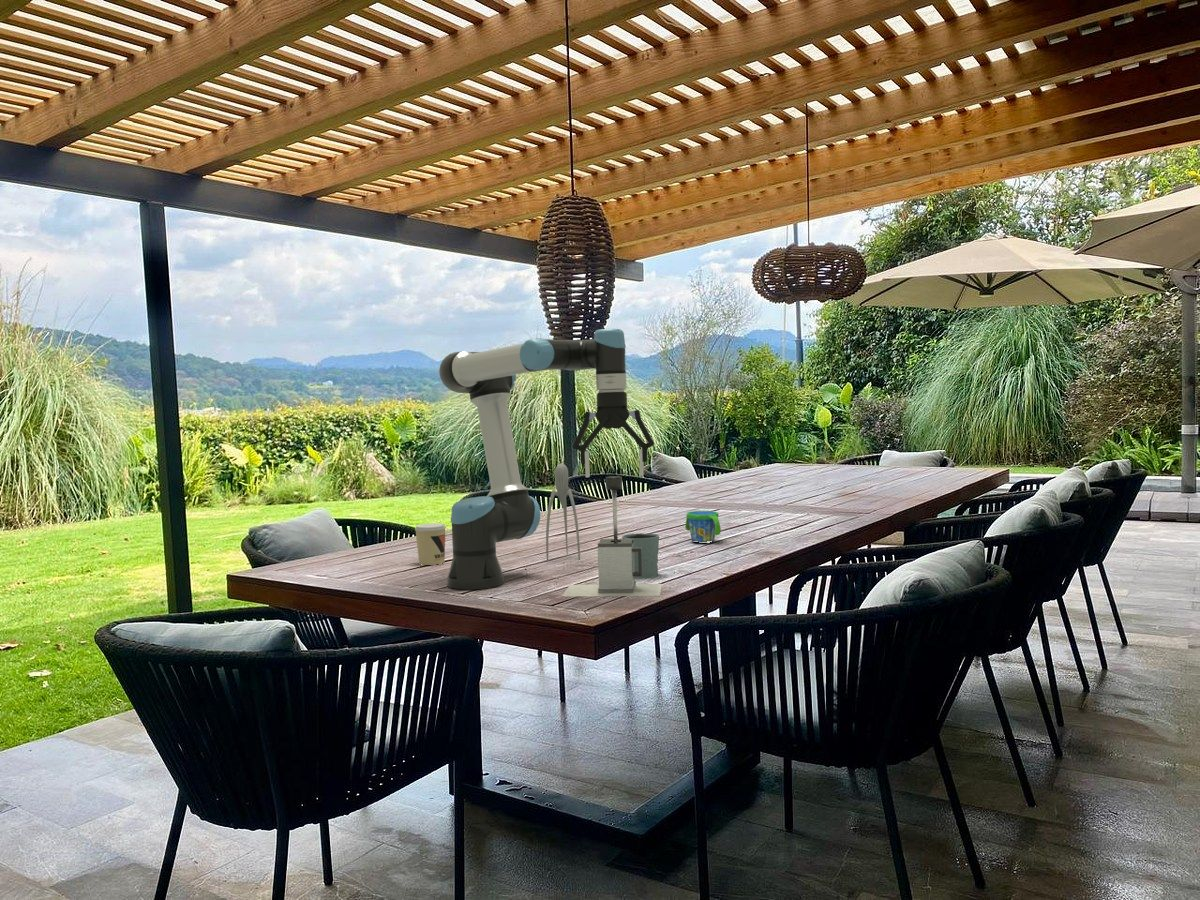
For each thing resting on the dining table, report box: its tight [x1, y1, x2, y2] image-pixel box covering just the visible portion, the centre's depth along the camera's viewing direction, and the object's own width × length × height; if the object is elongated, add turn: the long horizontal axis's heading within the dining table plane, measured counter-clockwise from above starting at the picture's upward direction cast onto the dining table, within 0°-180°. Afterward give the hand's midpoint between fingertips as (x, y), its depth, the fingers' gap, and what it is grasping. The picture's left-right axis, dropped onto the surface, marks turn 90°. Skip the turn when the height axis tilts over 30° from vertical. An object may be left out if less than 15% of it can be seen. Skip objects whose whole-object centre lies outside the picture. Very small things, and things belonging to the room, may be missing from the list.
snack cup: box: [685, 510, 722, 542], centre depth 308 cm, size 16×10×10 cm
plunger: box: [605, 475, 623, 542], centre depth 230 cm, size 6×6×18 cm
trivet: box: [562, 583, 663, 598], centre depth 231 cm, size 24×14×1 cm, turn 84°
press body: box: [597, 538, 642, 593], centre depth 231 cm, size 11×9×12 cm
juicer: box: [545, 462, 581, 562], centre depth 285 cm, size 10×9×30 cm
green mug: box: [621, 533, 660, 579], centre depth 249 cm, size 10×10×12 cm
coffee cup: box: [414, 522, 447, 566], centre depth 284 cm, size 9×9×12 cm
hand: (614, 476), depth 230 cm, fingers open, 13 cm apart
